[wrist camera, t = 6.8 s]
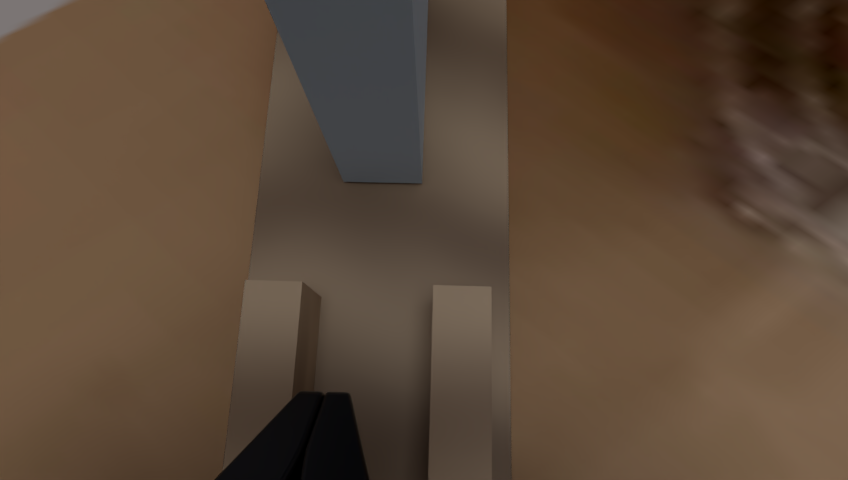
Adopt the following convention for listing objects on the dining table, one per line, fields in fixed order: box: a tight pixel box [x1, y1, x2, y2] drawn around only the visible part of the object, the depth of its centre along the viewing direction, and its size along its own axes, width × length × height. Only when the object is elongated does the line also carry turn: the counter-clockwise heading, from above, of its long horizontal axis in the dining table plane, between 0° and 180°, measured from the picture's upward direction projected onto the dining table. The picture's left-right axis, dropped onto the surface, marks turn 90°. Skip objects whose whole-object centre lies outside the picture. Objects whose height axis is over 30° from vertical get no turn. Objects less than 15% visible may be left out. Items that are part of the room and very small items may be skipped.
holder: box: [223, 0, 511, 480], centre depth 16 cm, size 22×8×4 cm, turn 178°
